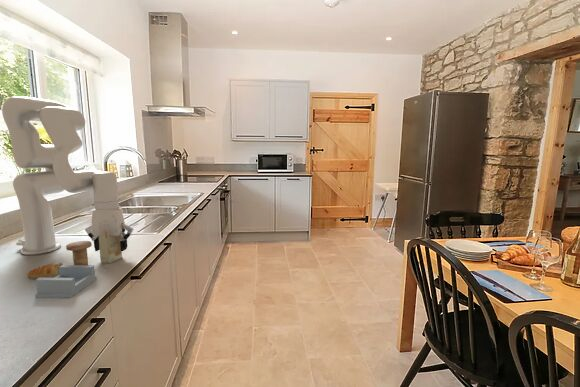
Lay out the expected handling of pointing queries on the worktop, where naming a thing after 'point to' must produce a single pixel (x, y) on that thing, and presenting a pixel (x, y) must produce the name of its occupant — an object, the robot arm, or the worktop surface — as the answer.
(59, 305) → the worktop surface
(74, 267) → the grey rectangular frame
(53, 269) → the pastry
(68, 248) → the wooden mushroom
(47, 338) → the worktop surface
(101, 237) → the skincare box
